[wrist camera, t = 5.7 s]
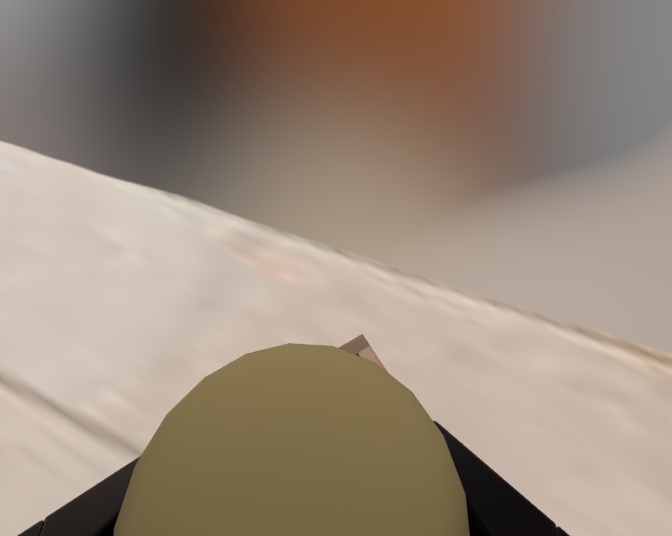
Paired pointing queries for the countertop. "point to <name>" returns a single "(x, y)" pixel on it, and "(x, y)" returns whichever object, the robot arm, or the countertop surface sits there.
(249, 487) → the cork
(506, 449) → the countertop surface
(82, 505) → the robot arm
